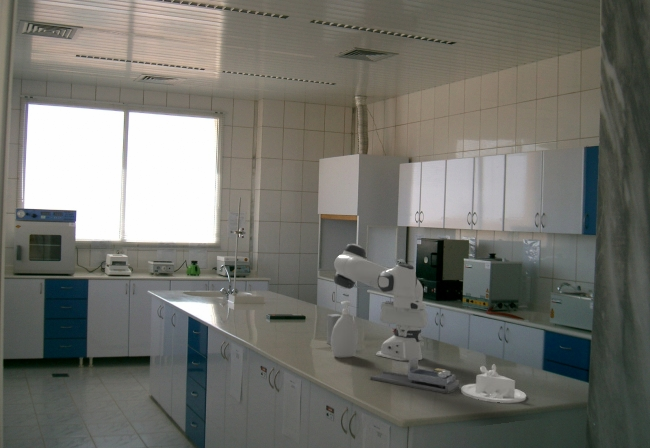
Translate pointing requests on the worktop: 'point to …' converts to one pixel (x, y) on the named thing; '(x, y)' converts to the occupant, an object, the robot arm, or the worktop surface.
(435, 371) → the wooden block
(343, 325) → the soap bottle
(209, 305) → the worktop surface
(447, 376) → the steel puck
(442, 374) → the steel puck
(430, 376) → the long grey tray
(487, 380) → the dish
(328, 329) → the skincare box
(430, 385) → the track
